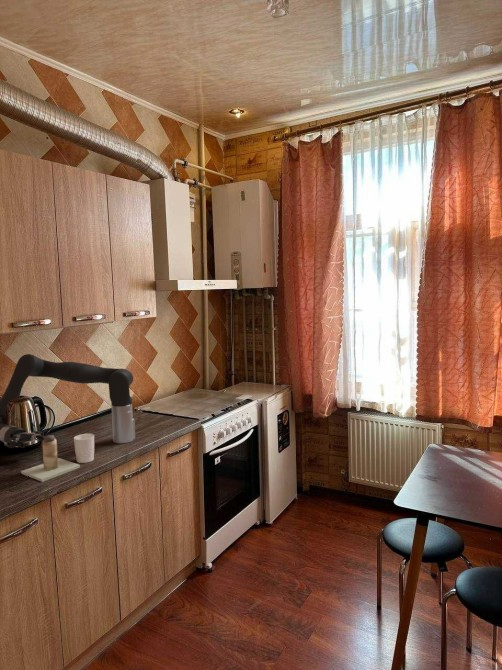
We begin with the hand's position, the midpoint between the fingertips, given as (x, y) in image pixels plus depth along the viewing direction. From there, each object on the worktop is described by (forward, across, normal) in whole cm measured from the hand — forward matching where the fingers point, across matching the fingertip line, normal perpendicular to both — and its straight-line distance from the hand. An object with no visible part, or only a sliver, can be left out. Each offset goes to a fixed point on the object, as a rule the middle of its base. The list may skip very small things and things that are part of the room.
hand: (34, 442), depth 180 cm
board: (+10, 0, +10) cm, 14 cm away
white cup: (+12, +14, +10) cm, 21 cm away
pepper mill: (+10, 0, +8) cm, 13 cm away
